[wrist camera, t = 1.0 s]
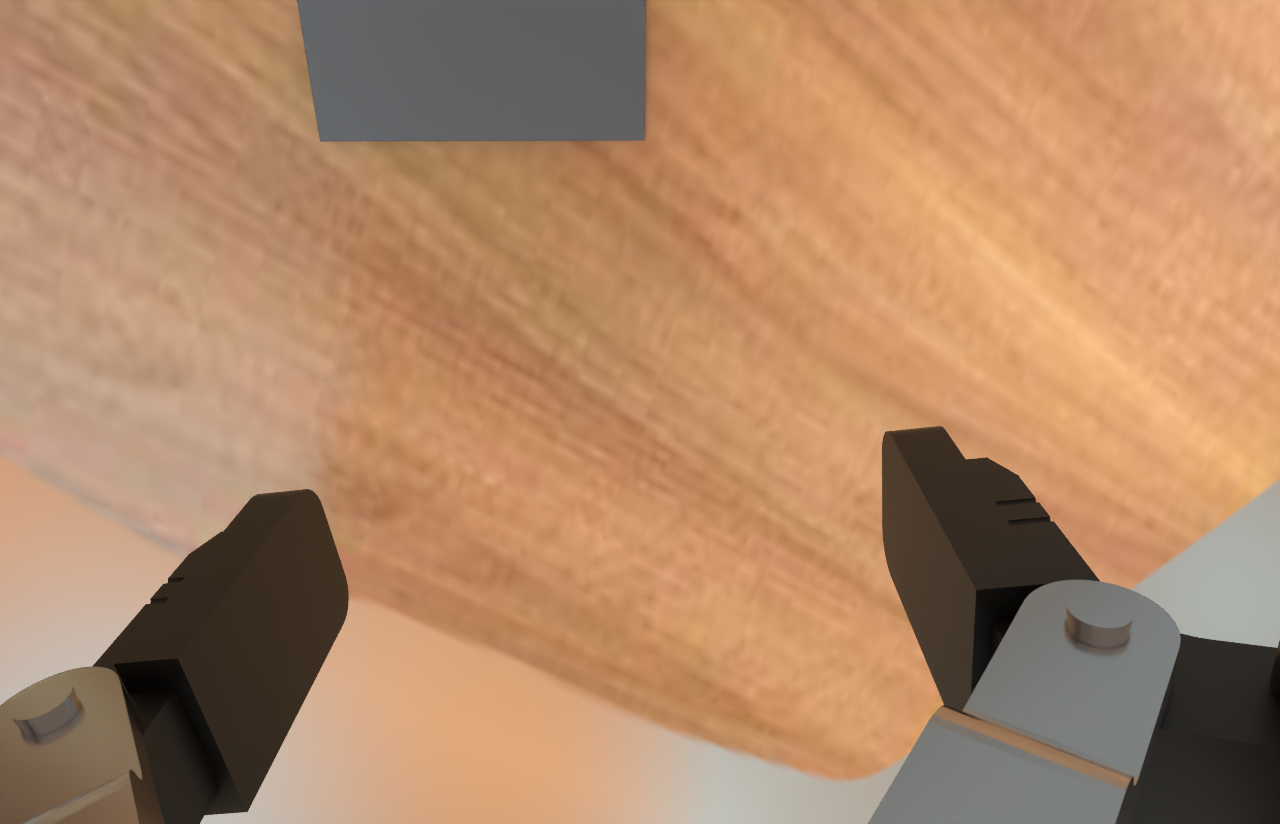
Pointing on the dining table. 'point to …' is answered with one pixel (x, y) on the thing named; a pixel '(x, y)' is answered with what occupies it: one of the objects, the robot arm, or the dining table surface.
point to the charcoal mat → (476, 69)
